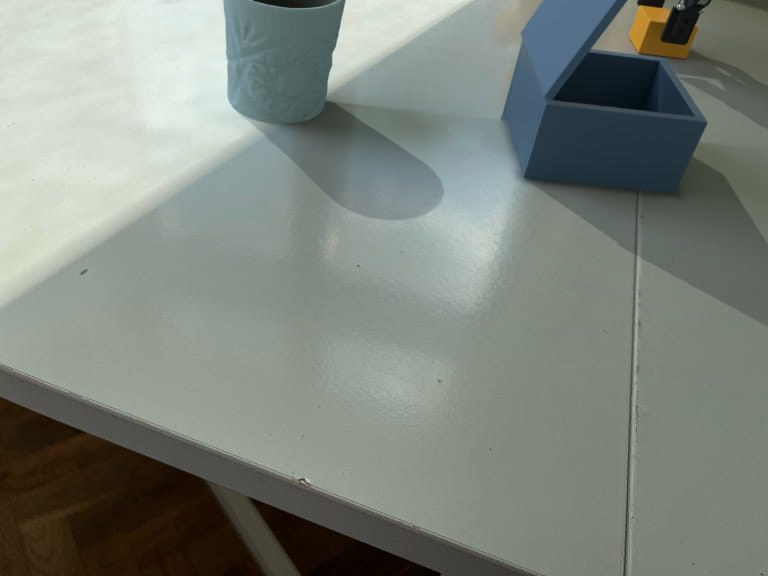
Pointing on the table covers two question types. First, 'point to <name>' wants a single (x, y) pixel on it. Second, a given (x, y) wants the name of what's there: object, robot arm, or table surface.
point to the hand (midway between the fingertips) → (660, 24)
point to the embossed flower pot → (280, 56)
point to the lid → (565, 37)
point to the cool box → (605, 123)
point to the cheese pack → (656, 33)
